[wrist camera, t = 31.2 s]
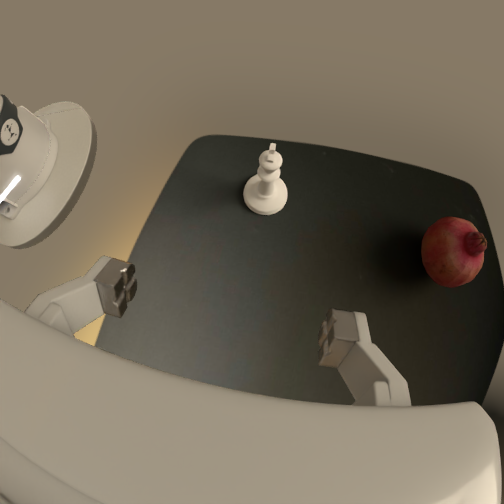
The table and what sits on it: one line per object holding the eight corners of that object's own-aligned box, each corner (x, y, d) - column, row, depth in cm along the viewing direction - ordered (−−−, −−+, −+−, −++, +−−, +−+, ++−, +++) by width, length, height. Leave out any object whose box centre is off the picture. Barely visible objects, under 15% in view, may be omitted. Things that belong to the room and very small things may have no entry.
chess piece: (290, 179, 32) (305, 130, 22) (283, 218, 31) (299, 180, 21) (248, 171, 32) (248, 119, 22) (239, 210, 31) (235, 168, 21)
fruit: (406, 287, 29) (460, 278, 20) (407, 222, 31) (455, 194, 21) (453, 291, 29) (506, 284, 20) (452, 232, 31) (501, 210, 21)
